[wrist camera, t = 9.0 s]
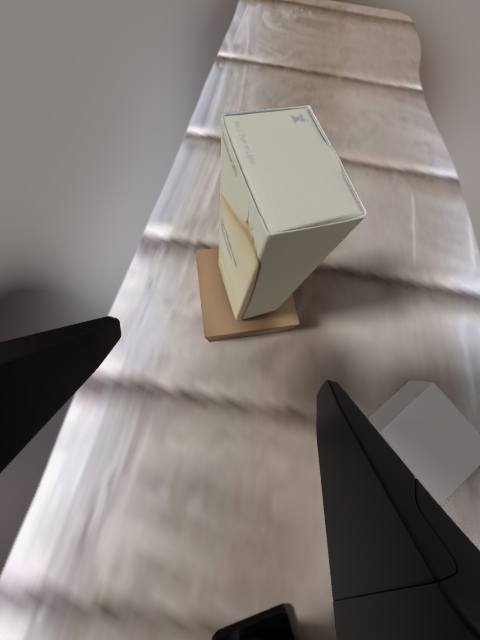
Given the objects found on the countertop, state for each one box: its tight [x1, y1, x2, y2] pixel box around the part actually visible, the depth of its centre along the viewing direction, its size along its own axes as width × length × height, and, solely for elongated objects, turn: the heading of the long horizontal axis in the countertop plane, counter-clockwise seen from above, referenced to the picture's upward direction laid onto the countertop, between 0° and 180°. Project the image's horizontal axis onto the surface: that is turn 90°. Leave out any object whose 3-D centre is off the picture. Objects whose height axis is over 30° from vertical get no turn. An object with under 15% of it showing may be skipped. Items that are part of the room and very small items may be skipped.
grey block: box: [368, 380, 480, 506], centre depth 19 cm, size 7×7×3 cm
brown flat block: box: [196, 248, 299, 342], centre depth 22 cm, size 9×9×4 cm
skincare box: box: [219, 105, 367, 321], centre depth 14 cm, size 6×4×12 cm
